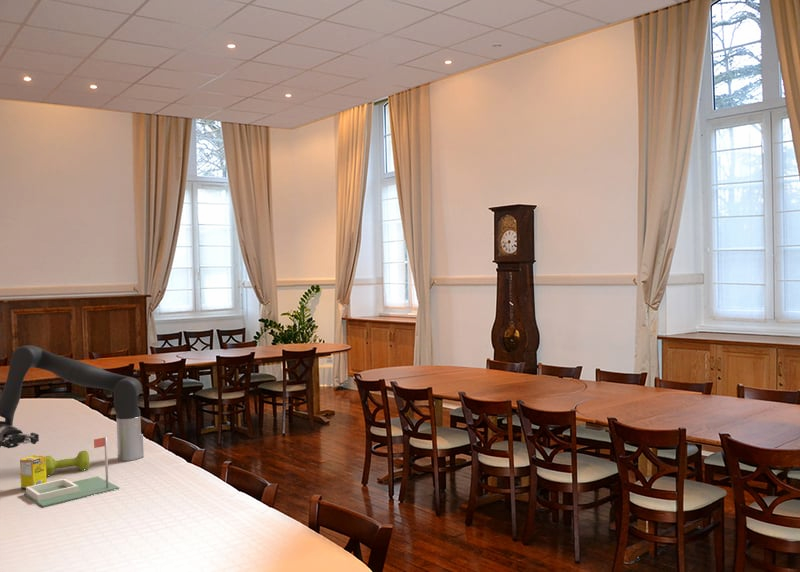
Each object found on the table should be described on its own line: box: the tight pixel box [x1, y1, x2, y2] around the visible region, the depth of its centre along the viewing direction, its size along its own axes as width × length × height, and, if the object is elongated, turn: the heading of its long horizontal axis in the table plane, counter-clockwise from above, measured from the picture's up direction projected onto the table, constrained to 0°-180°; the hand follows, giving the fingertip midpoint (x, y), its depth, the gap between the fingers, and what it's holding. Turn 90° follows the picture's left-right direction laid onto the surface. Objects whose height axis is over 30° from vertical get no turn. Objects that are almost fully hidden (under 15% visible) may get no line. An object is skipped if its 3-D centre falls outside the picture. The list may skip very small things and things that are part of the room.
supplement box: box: [19, 454, 48, 491], centre depth 244 cm, size 6×6×11 cm
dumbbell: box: [45, 450, 90, 477], centre depth 263 cm, size 16×8×7 cm, turn 120°
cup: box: [23, 436, 120, 508], centre depth 238 cm, size 25×20×19 cm
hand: (22, 443), depth 251 cm, fingers open, 8 cm apart
